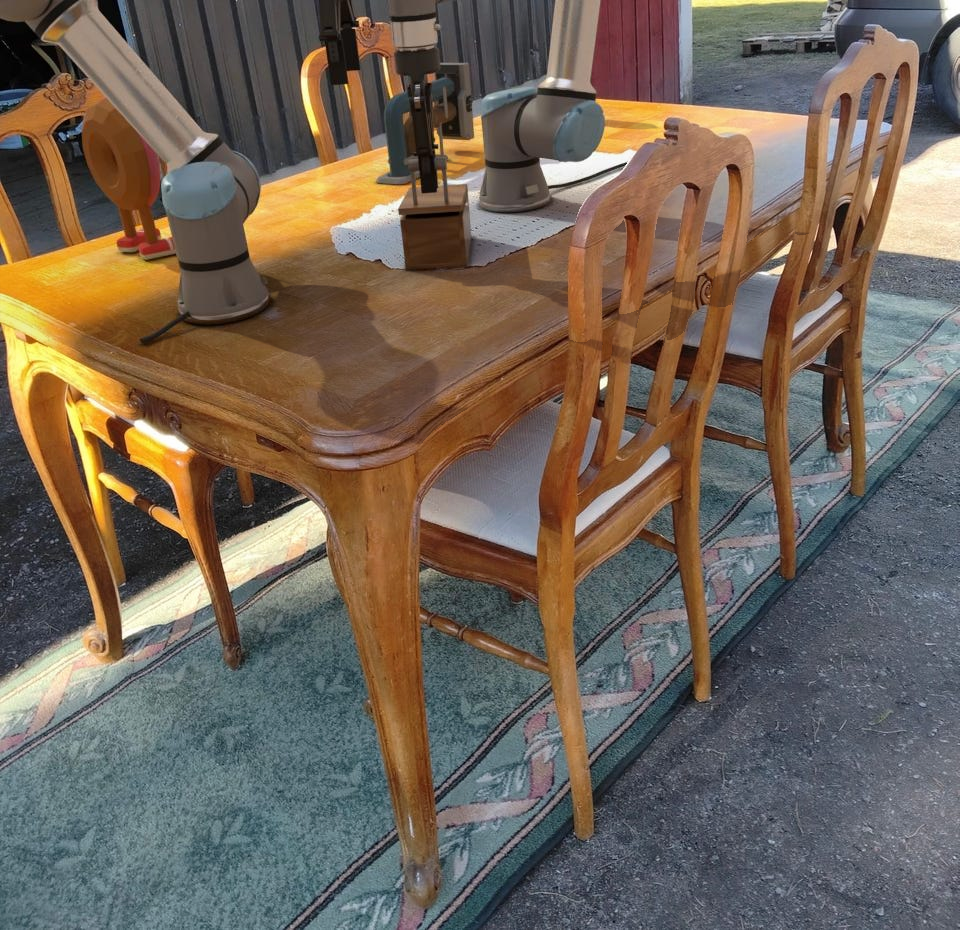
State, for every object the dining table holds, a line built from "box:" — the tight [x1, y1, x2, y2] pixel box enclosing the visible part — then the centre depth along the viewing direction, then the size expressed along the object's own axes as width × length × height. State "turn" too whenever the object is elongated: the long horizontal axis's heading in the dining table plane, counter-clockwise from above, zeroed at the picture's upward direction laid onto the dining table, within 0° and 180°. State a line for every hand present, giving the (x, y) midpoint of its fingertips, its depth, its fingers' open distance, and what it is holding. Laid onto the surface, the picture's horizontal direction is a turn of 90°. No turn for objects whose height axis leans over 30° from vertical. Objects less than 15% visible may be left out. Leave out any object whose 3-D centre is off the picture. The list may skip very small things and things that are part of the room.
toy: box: [81, 97, 176, 260], centre depth 191 cm, size 21×10×30 cm, turn 47°
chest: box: [399, 190, 472, 271], centre depth 181 cm, size 17×11×9 cm, turn 178°
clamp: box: [375, 62, 475, 185], centre depth 238 cm, size 35×9×21 cm, turn 151°
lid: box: [397, 157, 469, 216], centre depth 176 cm, size 18×11×9 cm, turn 178°
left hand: (346, 77), depth 160 cm, fingers open, 13 cm apart
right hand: (430, 190), depth 172 cm, fingers closed on lid, 2 cm apart
